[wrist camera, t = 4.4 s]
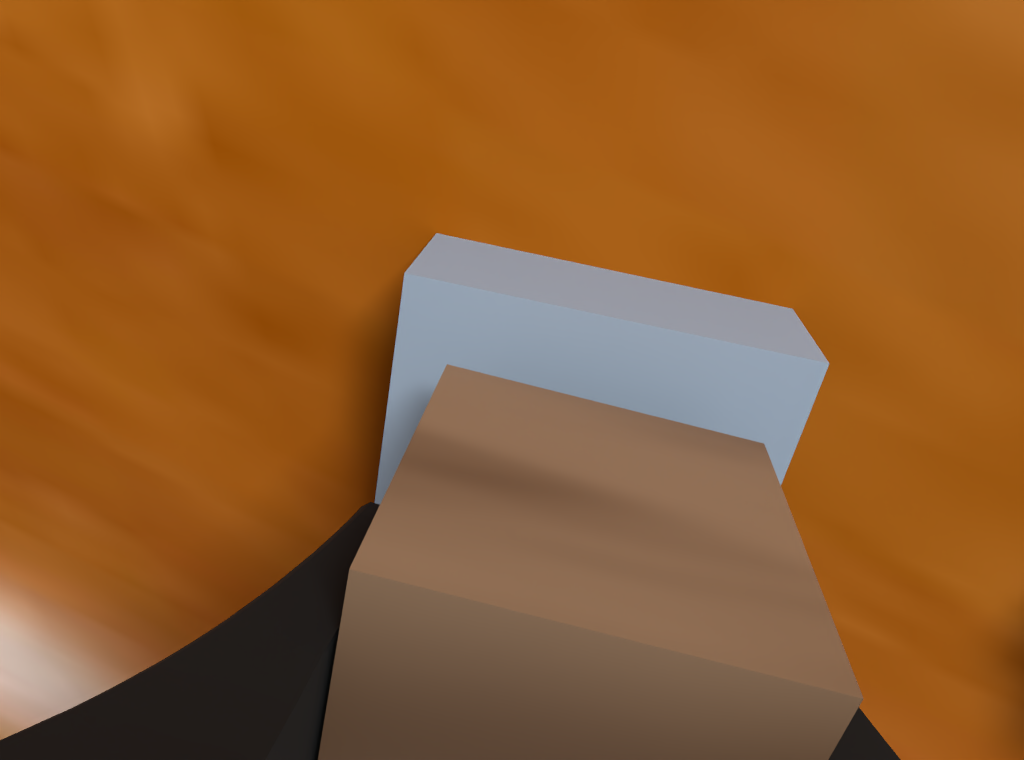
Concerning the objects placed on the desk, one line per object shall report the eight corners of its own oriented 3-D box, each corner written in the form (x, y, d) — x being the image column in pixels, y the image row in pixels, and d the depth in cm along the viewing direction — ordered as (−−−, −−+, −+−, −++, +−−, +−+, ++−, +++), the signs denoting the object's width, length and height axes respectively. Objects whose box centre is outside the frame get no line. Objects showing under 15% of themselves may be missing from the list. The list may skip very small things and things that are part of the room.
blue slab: (688, 580, 18) (704, 678, 15) (397, 516, 18) (361, 602, 16) (788, 302, 15) (829, 363, 12) (439, 229, 15) (404, 272, 13)
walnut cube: (665, 678, 14) (695, 990, 9) (396, 610, 14) (296, 888, 9) (764, 443, 12) (863, 698, 7) (446, 364, 12) (349, 569, 7)
